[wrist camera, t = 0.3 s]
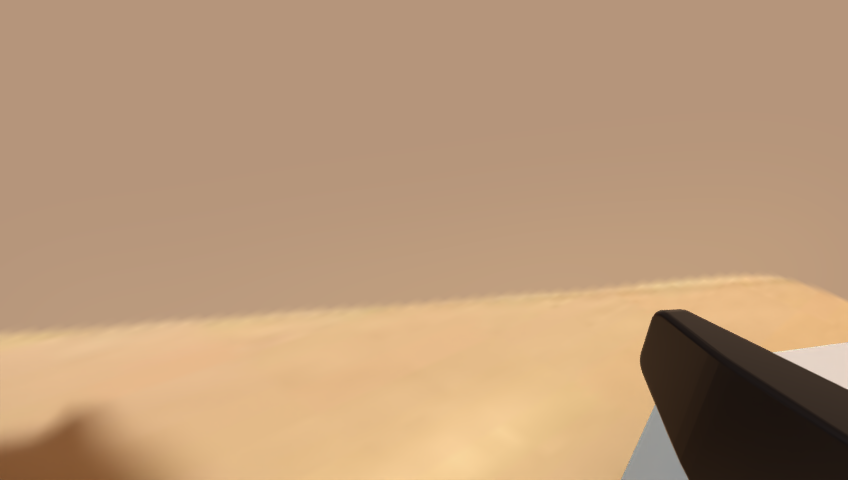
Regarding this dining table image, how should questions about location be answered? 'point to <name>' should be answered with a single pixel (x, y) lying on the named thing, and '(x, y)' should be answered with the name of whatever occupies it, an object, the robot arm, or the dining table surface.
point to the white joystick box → (654, 454)
